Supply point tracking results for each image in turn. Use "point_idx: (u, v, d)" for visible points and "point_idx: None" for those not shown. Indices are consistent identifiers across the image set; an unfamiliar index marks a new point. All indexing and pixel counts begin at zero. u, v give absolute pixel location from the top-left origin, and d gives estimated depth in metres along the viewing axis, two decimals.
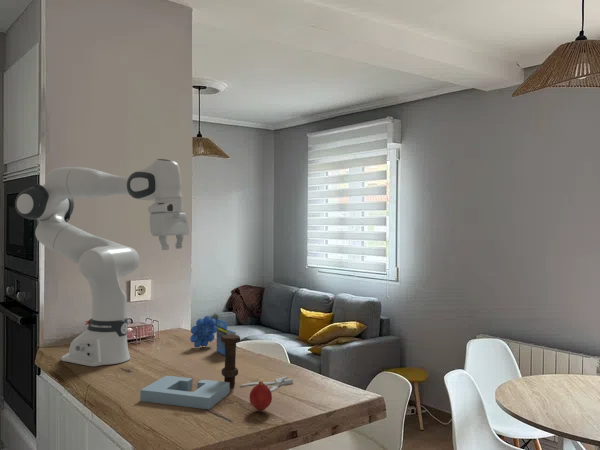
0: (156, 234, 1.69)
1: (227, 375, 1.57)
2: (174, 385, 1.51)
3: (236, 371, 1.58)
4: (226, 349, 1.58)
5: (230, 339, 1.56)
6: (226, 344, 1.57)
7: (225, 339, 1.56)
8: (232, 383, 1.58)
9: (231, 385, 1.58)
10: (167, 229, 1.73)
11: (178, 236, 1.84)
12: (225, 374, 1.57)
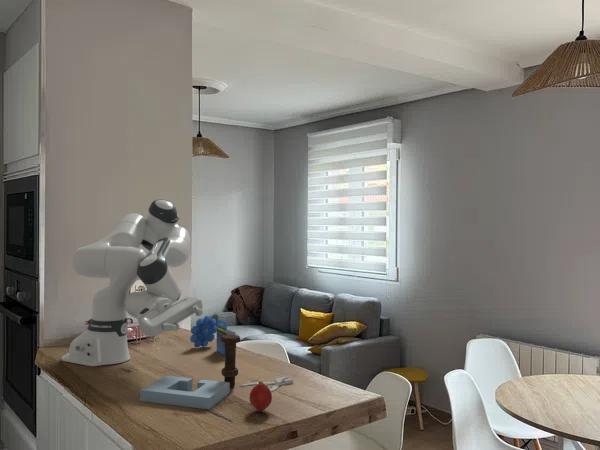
0: (153, 332, 1.59)
1: (227, 375, 1.57)
2: (174, 385, 1.51)
3: (236, 371, 1.58)
4: (226, 349, 1.58)
5: (230, 339, 1.56)
6: (226, 344, 1.57)
7: (225, 339, 1.56)
8: (232, 383, 1.58)
9: (231, 385, 1.58)
10: (159, 319, 1.63)
11: (193, 310, 1.69)
12: (225, 374, 1.57)
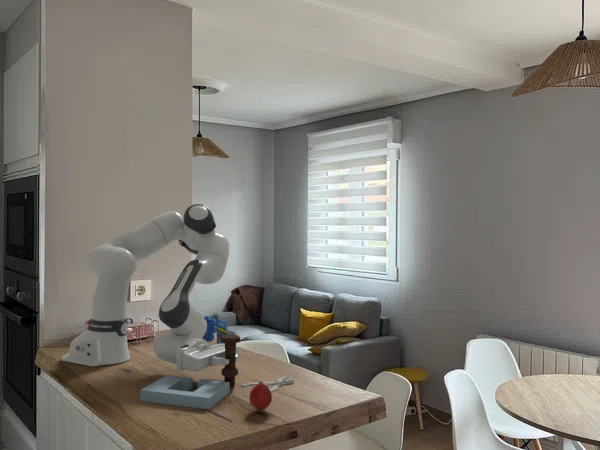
0: (196, 365, 1.52)
1: (227, 375, 1.57)
2: (174, 385, 1.51)
3: (236, 371, 1.58)
4: (226, 349, 1.58)
5: (230, 339, 1.56)
6: (226, 344, 1.57)
7: (225, 339, 1.56)
8: (232, 383, 1.58)
9: (231, 385, 1.58)
10: (202, 354, 1.57)
11: None
12: (225, 374, 1.57)
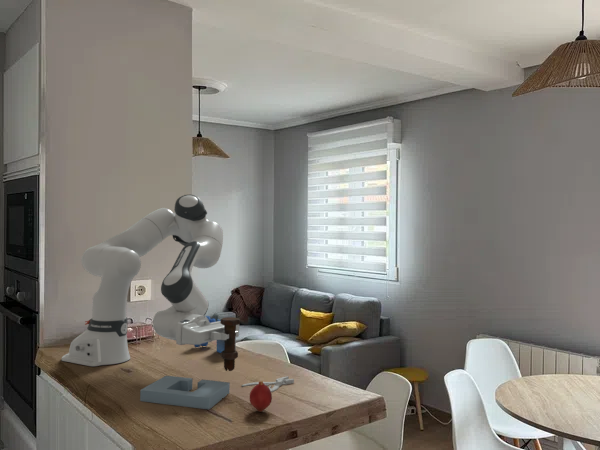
0: (196, 338, 1.51)
1: (227, 357, 1.56)
2: (174, 385, 1.51)
3: (236, 354, 1.57)
4: (226, 331, 1.57)
5: (230, 321, 1.55)
6: (226, 326, 1.56)
7: (225, 321, 1.55)
8: (232, 366, 1.57)
9: (231, 368, 1.56)
10: (202, 329, 1.56)
11: None
12: (225, 356, 1.56)
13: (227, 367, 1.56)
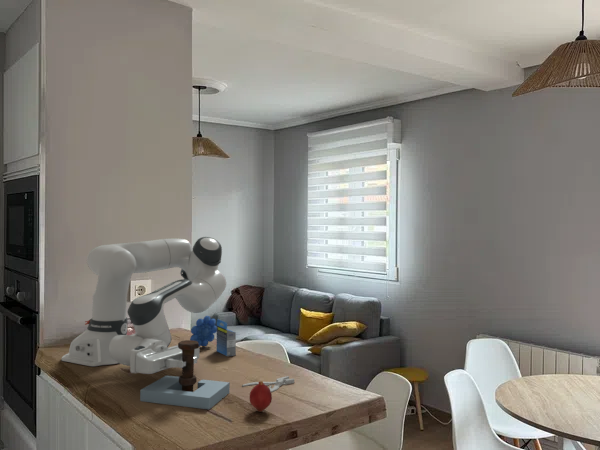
0: (150, 367, 1.43)
1: (185, 383, 1.47)
2: (174, 385, 1.51)
3: (194, 379, 1.48)
4: (183, 356, 1.48)
5: (187, 345, 1.47)
6: (183, 351, 1.48)
7: (182, 345, 1.47)
8: None
9: None
10: (157, 356, 1.47)
11: None
12: (182, 383, 1.47)
13: None
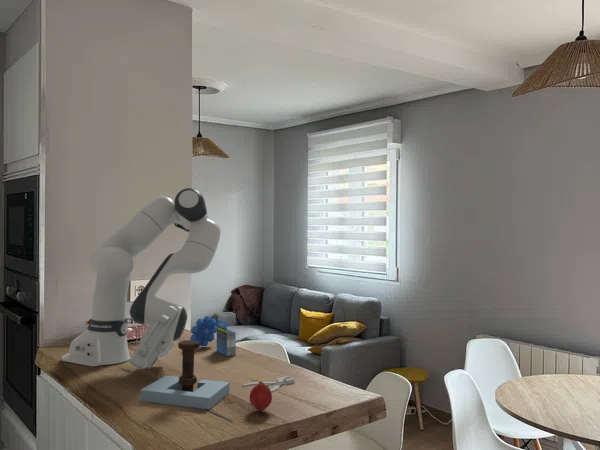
0: (134, 365, 1.56)
1: (185, 383, 1.47)
2: (174, 385, 1.51)
3: (194, 379, 1.48)
4: (184, 356, 1.48)
5: (188, 345, 1.47)
6: (183, 351, 1.48)
7: (182, 345, 1.47)
8: None
9: None
10: None
11: None
12: (182, 383, 1.47)
13: None
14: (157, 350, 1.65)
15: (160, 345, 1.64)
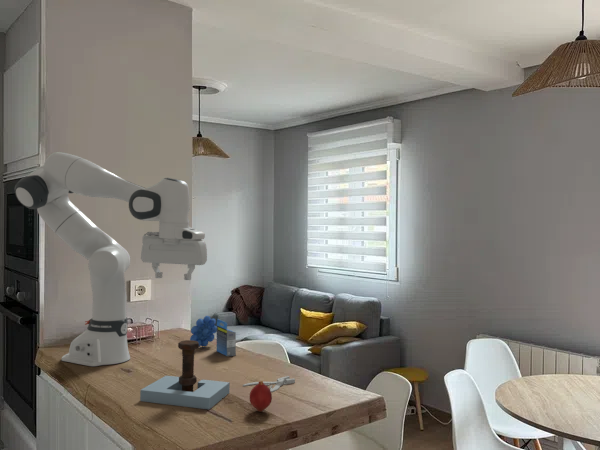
0: (203, 263, 1.58)
1: (185, 383, 1.47)
2: (174, 385, 1.51)
3: (194, 379, 1.48)
4: (183, 356, 1.48)
5: (188, 345, 1.47)
6: (183, 350, 1.48)
7: (182, 345, 1.47)
8: None
9: None
10: None
11: (157, 264, 1.62)
12: (182, 382, 1.47)
13: None
14: (178, 238, 1.58)
15: (173, 244, 1.58)
